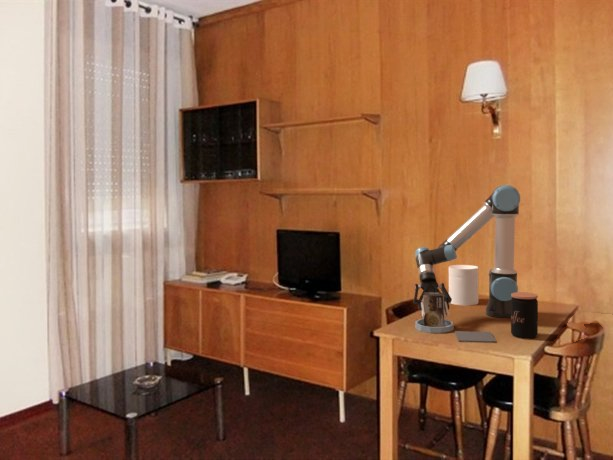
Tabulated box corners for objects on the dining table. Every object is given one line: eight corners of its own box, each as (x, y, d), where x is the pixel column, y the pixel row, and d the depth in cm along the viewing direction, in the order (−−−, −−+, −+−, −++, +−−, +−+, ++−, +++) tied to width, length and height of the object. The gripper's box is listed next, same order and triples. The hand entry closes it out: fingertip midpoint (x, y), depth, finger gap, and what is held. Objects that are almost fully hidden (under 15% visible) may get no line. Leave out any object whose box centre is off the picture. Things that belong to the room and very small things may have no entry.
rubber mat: (490, 333, 226) (490, 331, 226) (496, 342, 212) (496, 341, 212) (454, 332, 229) (454, 331, 229) (458, 341, 215) (458, 340, 215)
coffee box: (444, 326, 239) (444, 292, 237) (443, 330, 233) (443, 295, 231) (424, 325, 242) (424, 291, 240) (423, 329, 236) (423, 294, 234)
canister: (443, 300, 294) (443, 265, 292) (468, 298, 297) (468, 264, 296) (458, 306, 278) (457, 269, 276) (484, 304, 282) (484, 268, 280)
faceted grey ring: (451, 323, 244) (451, 318, 244) (455, 333, 227) (455, 327, 227) (414, 322, 247) (414, 317, 247) (416, 332, 230) (416, 327, 230)
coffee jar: (506, 333, 226) (506, 292, 224) (529, 331, 227) (529, 291, 225) (518, 340, 215) (518, 297, 214) (542, 338, 216) (543, 296, 215)
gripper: (449, 279, 251) (458, 319, 236) (402, 280, 251) (409, 320, 236) (452, 270, 245) (462, 310, 231) (404, 271, 245) (411, 311, 231)
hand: (435, 315), depth 234 cm, fingers closed on coffee box, 10 cm apart
